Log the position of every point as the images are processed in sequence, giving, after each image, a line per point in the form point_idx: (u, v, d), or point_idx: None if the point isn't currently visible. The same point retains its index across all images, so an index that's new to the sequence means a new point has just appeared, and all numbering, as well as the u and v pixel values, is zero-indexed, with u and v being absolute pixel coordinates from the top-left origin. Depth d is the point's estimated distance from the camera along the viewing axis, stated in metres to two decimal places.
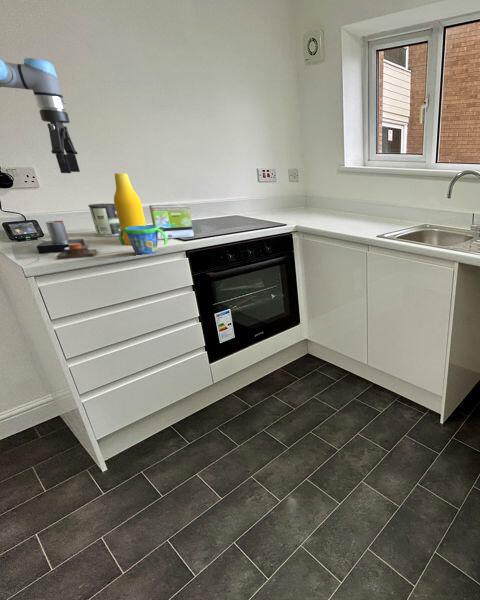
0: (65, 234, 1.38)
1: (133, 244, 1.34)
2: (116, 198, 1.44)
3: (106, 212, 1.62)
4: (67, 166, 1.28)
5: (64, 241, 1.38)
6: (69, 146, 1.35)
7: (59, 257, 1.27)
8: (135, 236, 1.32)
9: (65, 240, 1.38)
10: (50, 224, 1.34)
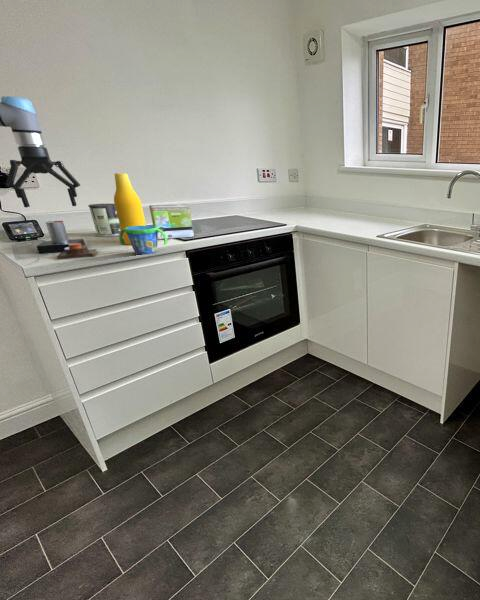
0: (65, 234, 1.38)
1: (133, 244, 1.34)
2: (116, 198, 1.44)
3: (106, 212, 1.62)
4: (74, 199, 1.37)
5: (64, 241, 1.38)
6: (25, 180, 1.29)
7: (59, 257, 1.27)
8: (135, 236, 1.32)
9: (65, 240, 1.38)
10: (50, 224, 1.34)
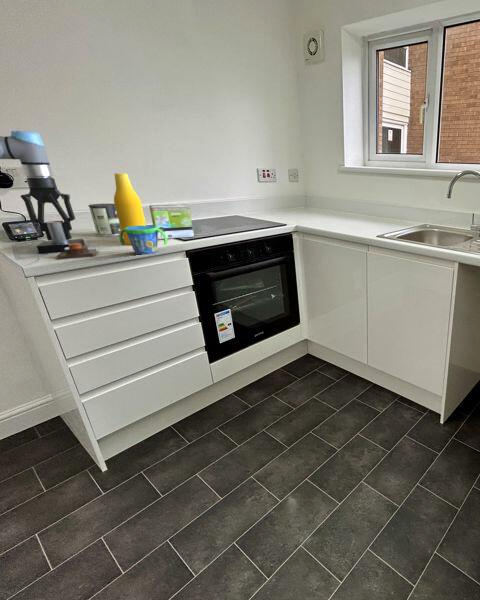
0: (65, 234, 1.38)
1: (133, 244, 1.34)
2: (116, 198, 1.44)
3: (106, 212, 1.62)
4: (69, 232, 1.40)
5: (64, 241, 1.38)
6: (43, 212, 1.34)
7: (59, 257, 1.27)
8: (135, 236, 1.32)
9: (65, 240, 1.38)
10: (50, 224, 1.34)
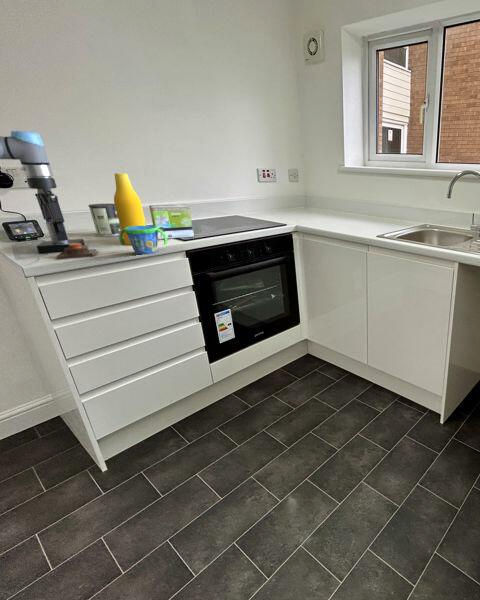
0: None
1: (133, 244, 1.34)
2: (116, 198, 1.44)
3: (106, 212, 1.62)
4: None
5: None
6: None
7: (59, 257, 1.27)
8: (135, 236, 1.32)
9: None
10: None
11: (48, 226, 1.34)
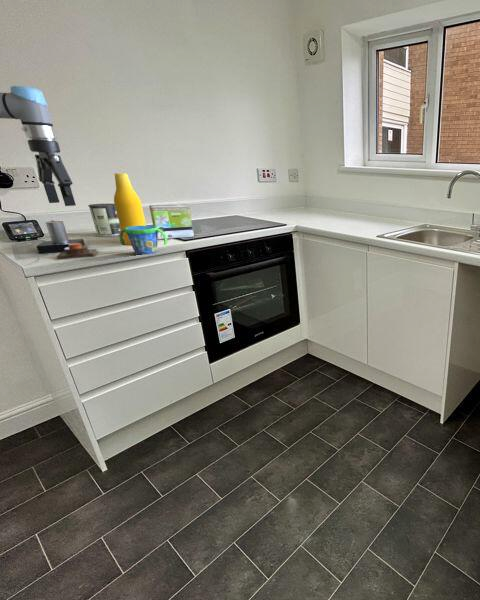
0: None
1: (133, 244, 1.34)
2: (116, 198, 1.44)
3: (106, 212, 1.62)
4: None
5: None
6: None
7: (59, 257, 1.27)
8: (135, 236, 1.32)
9: None
10: None
11: (48, 226, 1.34)
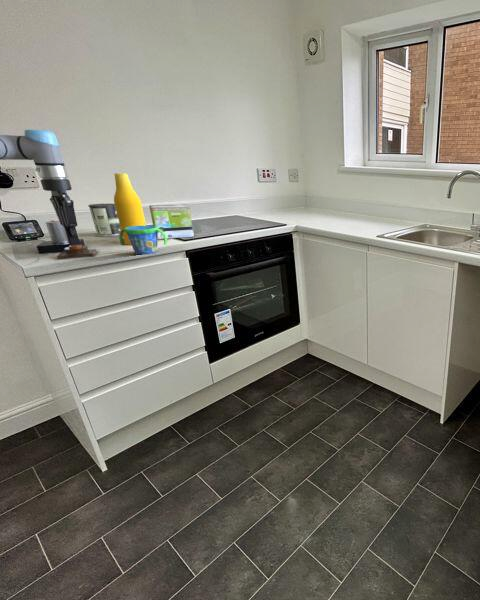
0: None
1: (133, 244, 1.34)
2: (116, 198, 1.44)
3: (106, 212, 1.62)
4: None
5: None
6: None
7: (59, 257, 1.27)
8: (135, 236, 1.32)
9: None
10: None
11: (48, 226, 1.34)
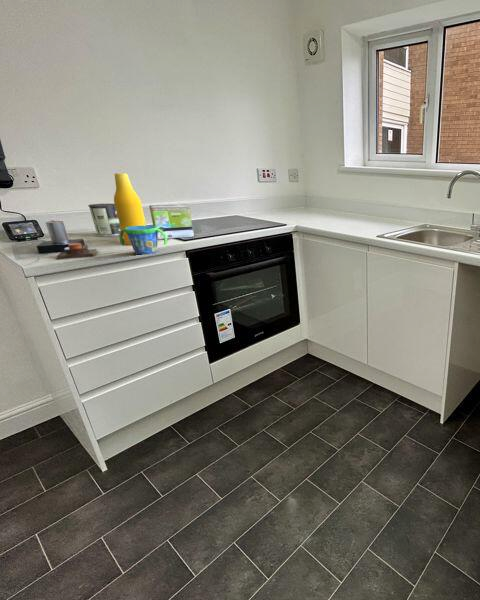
0: None
1: (133, 244, 1.34)
2: (116, 198, 1.44)
3: (106, 212, 1.62)
4: None
5: None
6: None
7: (59, 257, 1.27)
8: (135, 236, 1.32)
9: None
10: None
11: (48, 226, 1.34)
